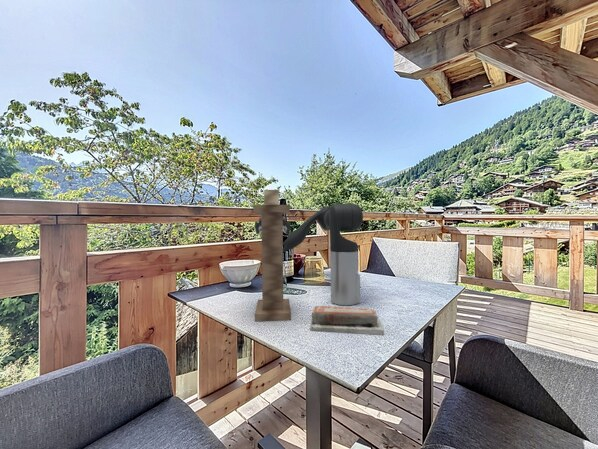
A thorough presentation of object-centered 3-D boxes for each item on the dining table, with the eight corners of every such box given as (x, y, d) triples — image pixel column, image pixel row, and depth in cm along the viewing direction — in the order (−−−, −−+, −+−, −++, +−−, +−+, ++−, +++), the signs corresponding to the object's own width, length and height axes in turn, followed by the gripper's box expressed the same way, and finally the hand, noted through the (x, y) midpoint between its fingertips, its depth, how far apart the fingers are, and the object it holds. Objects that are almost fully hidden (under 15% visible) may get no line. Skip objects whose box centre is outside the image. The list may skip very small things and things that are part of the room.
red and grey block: (309, 313, 66) (313, 301, 75) (309, 333, 66) (314, 318, 75) (384, 317, 63) (379, 304, 72) (384, 337, 63) (379, 321, 72)
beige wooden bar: (278, 209, 96) (278, 197, 96) (278, 204, 72) (278, 189, 72) (267, 209, 95) (267, 198, 95) (264, 204, 71) (263, 189, 71)
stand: (288, 304, 87) (287, 207, 87) (291, 320, 73) (289, 204, 73) (258, 305, 86) (257, 208, 86) (254, 321, 72) (253, 205, 72)
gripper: (289, 245, 114) (291, 226, 100) (256, 245, 113) (253, 227, 99) (289, 230, 118) (290, 210, 104) (257, 230, 117) (254, 210, 103)
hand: (272, 218), depth 101 cm, fingers open, 8 cm apart
